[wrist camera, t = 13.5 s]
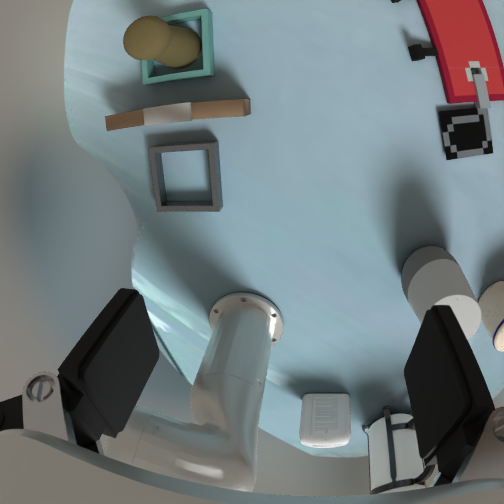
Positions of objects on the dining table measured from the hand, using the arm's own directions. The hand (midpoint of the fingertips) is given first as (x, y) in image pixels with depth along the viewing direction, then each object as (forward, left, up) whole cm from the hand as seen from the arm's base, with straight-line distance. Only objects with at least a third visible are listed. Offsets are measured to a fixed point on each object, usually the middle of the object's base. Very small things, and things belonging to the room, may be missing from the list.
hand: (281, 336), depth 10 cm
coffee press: (-58, -26, -32) cm, 71 cm away
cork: (+15, +15, -32) cm, 39 cm away
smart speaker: (-16, -20, -32) cm, 41 cm away
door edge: (+6, +15, -32) cm, 36 cm away
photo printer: (-49, -8, -32) cm, 59 cm away
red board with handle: (+17, -22, -33) cm, 43 cm away
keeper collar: (-3, +15, -32) cm, 36 cm away
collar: (+15, +15, -32) cm, 39 cm away
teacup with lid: (-22, -39, -32) cm, 55 cm away
